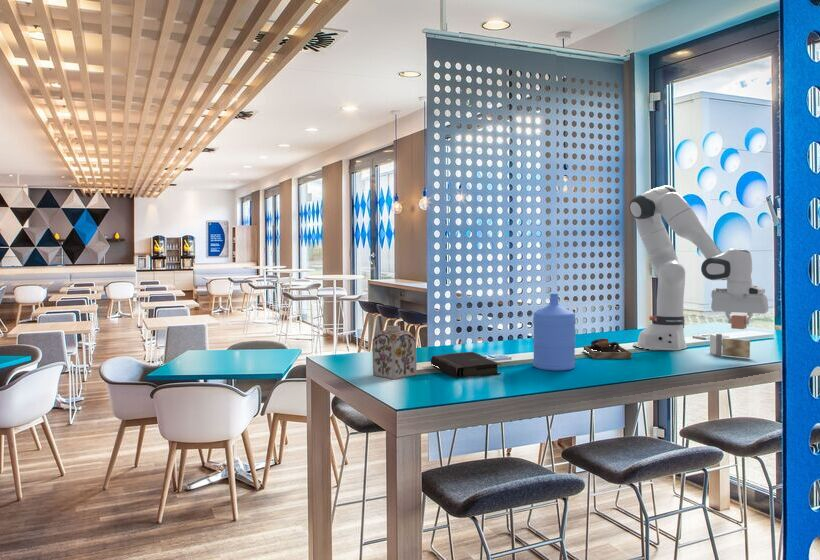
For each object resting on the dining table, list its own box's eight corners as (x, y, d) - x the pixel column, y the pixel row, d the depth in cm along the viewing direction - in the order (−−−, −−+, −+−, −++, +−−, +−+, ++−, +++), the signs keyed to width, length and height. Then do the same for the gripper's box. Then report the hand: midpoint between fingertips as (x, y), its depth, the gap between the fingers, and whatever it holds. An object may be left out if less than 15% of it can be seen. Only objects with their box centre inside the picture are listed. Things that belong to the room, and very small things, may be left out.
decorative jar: (371, 375, 230) (371, 326, 229) (395, 370, 238) (394, 323, 237) (394, 380, 221) (393, 329, 220) (417, 375, 229) (417, 325, 228)
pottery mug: (591, 358, 261) (587, 340, 265) (594, 365, 269) (590, 347, 273) (620, 352, 257) (616, 333, 261) (623, 359, 265) (619, 341, 269)
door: (722, 355, 260) (722, 338, 260) (723, 354, 262) (724, 337, 261) (748, 358, 253) (749, 340, 253) (750, 357, 255) (750, 340, 255)
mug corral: (593, 358, 258) (593, 352, 258) (583, 351, 275) (583, 345, 275) (631, 358, 257) (631, 352, 257) (619, 351, 275) (619, 345, 274)
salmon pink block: (743, 329, 249) (743, 316, 249) (731, 328, 252) (731, 315, 252) (746, 328, 253) (746, 315, 252) (734, 327, 256) (734, 314, 255)
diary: (455, 380, 223) (455, 366, 223) (430, 367, 247) (430, 355, 246) (503, 376, 229) (503, 362, 228) (474, 363, 252) (474, 351, 252)
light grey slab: (717, 356, 261) (717, 334, 260) (709, 352, 269) (709, 331, 268) (721, 356, 261) (721, 334, 260) (713, 352, 269) (713, 331, 268)
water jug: (576, 371, 232) (576, 295, 231) (532, 370, 235) (532, 295, 234) (574, 363, 247) (574, 292, 246) (533, 362, 251) (533, 292, 249)
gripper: (709, 288, 256) (708, 322, 257) (765, 290, 242) (764, 326, 243) (713, 287, 261) (713, 321, 262) (769, 289, 247) (769, 324, 248)
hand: (738, 323), depth 252 cm, fingers closed on salmon pink block, 4 cm apart
